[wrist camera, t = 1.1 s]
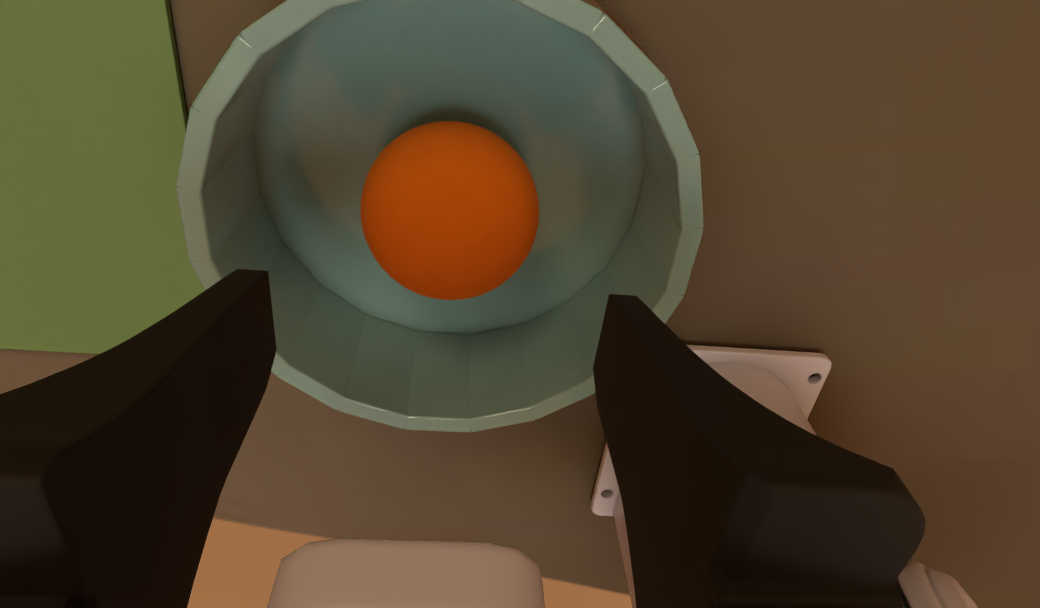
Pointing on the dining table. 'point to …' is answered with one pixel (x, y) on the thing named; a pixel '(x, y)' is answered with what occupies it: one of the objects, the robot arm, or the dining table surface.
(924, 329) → the dining table surface
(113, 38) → the green flat l-shaped piece
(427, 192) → the orange
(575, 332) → the pot
